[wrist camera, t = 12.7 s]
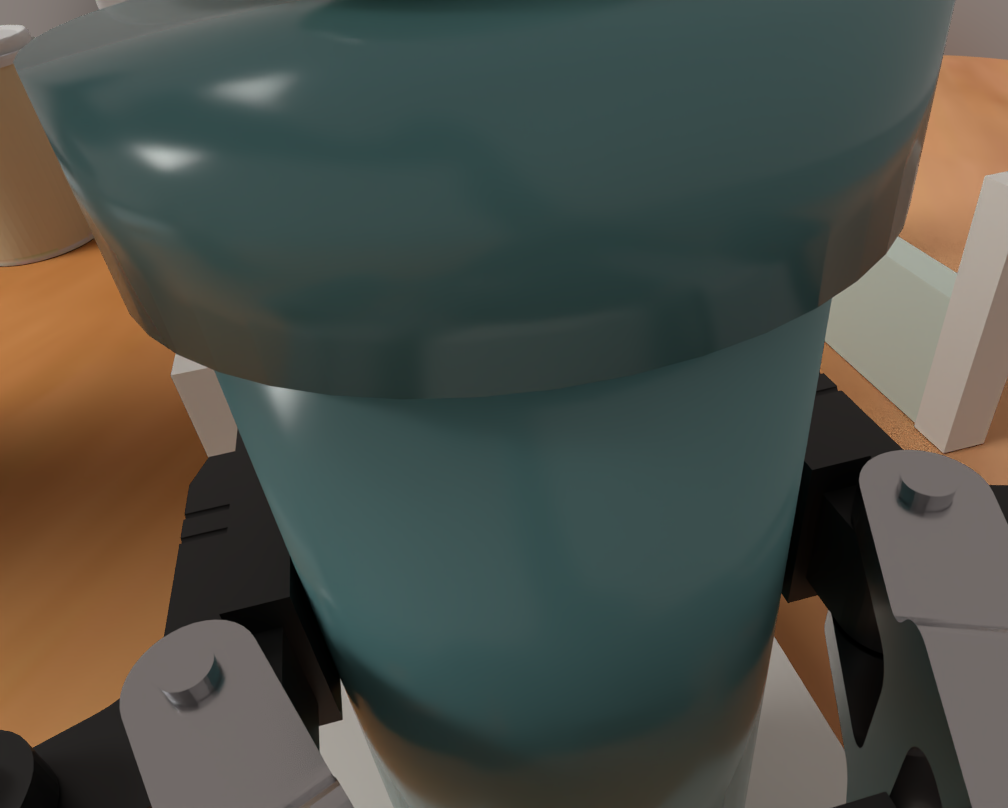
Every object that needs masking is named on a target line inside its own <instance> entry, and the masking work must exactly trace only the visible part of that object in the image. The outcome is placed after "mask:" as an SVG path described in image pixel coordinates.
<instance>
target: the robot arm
mask: <svg viewBox="0 0 1008 808" xmlns="http://www.w3.org/2000/svg"><path fill="white" fill-rule="evenodd" d="M185 517H186V519H185V520H184V521H183V526H182V532H181V541H182V544H179V550H178V556H177V562H176V568H175V574H174V580H173V586H172V592H171V598H170V604H169V610H168V616H167V622H166V628H165V634H164V637H163V638H162V639H160V640H159V641H158V642H157V643H155V644H154V645H153V646H152V647H150V648H149V649H148V650H147V651H146V652H145V653H144V654H143V655H142V656H141V657H140V659H139V660H138V661H137V662H136V664H135V665H134V666H133V668H132V669H131V671H130V672H129V674H128V676H127V678H126V680H125V682H124V685H123V687H122V691H121V695H120V699H118V700H117V701H116V702H114V703H113V704H111V705H110V706H109V707H107V708H105V709H104V710H102V711H100V712H99V713H97V714H95V715H93V716H91V717H90V718H88V719H86V720H84V721H82V722H80V723H78V724H76V725H75V726H73V727H71V728H69V729H67V730H65V731H63V732H61V733H60V734H58V735H56V736H54V737H52V738H50V739H48V740H46V741H45V742H43V743H41V744H39V745H37V746H35V747H33V748H32V747H31V746H30V745H29V744H28V743H27V741H25V740H24V739H23V738H22V737H21V736H20V735H17V734H15V733H13V732H10V731H4V730H0V808H354V807H353V805H352V803H351V801H350V800H349V798H348V796H347V795H346V793H345V791H344V790H343V788H342V786H341V785H340V783H339V781H338V780H337V778H336V777H334V776H333V775H332V773H331V771H330V770H329V768H328V766H327V764H326V763H325V761H324V759H323V757H322V756H321V754H320V745H319V726H322V725H326V724H329V723H333V722H337V721H341V720H343V714H342V696H341V679H340V676H339V674H338V671H337V669H336V667H335V664H334V662H333V659H332V657H331V654H330V652H329V649H328V647H327V645H326V642H325V640H324V637H323V635H322V632H321V630H320V628H319V625H318V623H317V620H316V618H315V615H314V613H313V610H312V608H311V606H310V603H309V601H308V598H307V596H306V593H305V591H304V589H303V586H302V584H301V581H300V579H299V576H298V574H297V571H296V569H295V567H294V564H293V562H292V559H291V557H290V554H289V552H288V550H287V547H286V545H285V542H284V540H283V537H282V535H281V532H280V530H279V528H278V525H277V523H276V520H275V518H274V515H273V513H272V511H271V508H270V506H269V503H268V501H267V498H266V496H265V493H264V491H263V489H262V486H261V484H260V481H259V479H258V476H257V474H256V472H255V469H254V467H253V464H252V462H251V459H250V457H249V455H248V452H247V450H246V447H245V445H244V442H243V440H242V437H241V435H240V433H239V430H238V428H237V438H236V448H235V451H233V452H229V453H224V454H220V455H215V456H211V457H209V458H208V459H207V461H206V462H205V464H204V465H203V466H202V468H201V469H200V471H199V472H198V474H197V475H196V476H195V478H194V479H193V481H192V482H191V484H190V485H189V491H188V497H187V503H186V509H185ZM781 593H782V595H783V596H784V598H785V599H786V601H787V602H788V603H790V602H793V601H797V600H801V599H805V598H808V597H812V596H816V595H818V596H819V597H820V599H821V600H822V601H823V603H824V604H825V606H826V607H827V608H828V612H827V616H826V620H825V626H824V627H825V637H826V643H827V649H828V655H829V661H830V667H831V672H832V678H833V684H834V690H835V696H836V702H837V708H838V714H839V720H840V726H841V732H842V737H843V743H844V749H845V755H846V763H847V795H846V804H842V805H839V806H836V807H832V808H1008V485H988V484H987V482H986V481H985V480H984V479H983V478H982V477H981V476H980V475H979V474H977V473H976V472H975V471H973V470H972V469H970V468H969V467H967V466H966V465H964V464H962V463H960V462H958V461H956V460H954V459H951V458H949V457H946V456H943V455H939V454H936V453H932V452H926V451H919V450H903V449H902V448H901V447H900V446H899V445H898V444H897V443H896V442H895V441H893V440H892V439H891V438H890V437H889V436H888V435H887V434H886V433H885V432H884V431H883V430H882V429H881V428H880V427H879V426H878V425H877V424H876V423H875V422H874V421H873V420H872V419H871V418H870V417H869V416H867V415H866V414H865V413H864V412H863V411H862V410H861V409H860V408H859V407H858V406H857V405H856V404H855V403H854V402H853V401H852V400H851V399H850V398H849V397H848V396H847V395H846V394H845V393H844V392H843V391H838V390H837V386H836V385H835V384H834V383H833V382H832V381H831V380H830V379H829V378H828V377H827V376H826V375H825V374H824V373H823V374H820V371H819V377H818V383H817V389H816V394H815V400H814V406H813V412H812V418H811V423H810V429H809V435H808V441H807V447H806V453H805V458H804V464H803V470H802V476H801V482H800V488H799V493H798V499H797V505H796V511H795V517H794V523H793V528H792V534H791V540H790V546H789V552H788V557H787V563H786V569H785V575H784V581H783V587H782V592H781Z"/></svg>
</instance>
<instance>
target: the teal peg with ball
mask: <svg viewBox="0 0 1008 808" xmlns="http://www.w3.org/2000/svg"><path fill="white" fill-rule="evenodd" d="M954 5H955V0H127V1H124V2H121V3H118V4H115V5H112V6H109V7H105V8H102V9H100V10H97V11H94V12H92V13H89V14H86V15H84V16H81V17H78V18H75V19H73V20H71V21H68V22H66V23H64V24H62V25H59V26H57V27H55V28H53V29H50V30H49V31H47V32H45V33H43V34H42V35H40V36H38V37H36V38H34V39H33V40H31V41H30V42H29V43H28V44H26V45H25V46H24V47H23V48H22V49H20V50H19V51H18V53H17V55H16V57H15V59H14V61H13V64H14V66H15V69H16V71H17V73H18V76H19V78H20V80H21V82H22V84H23V86H24V88H25V91H26V93H27V95H28V97H29V99H30V101H31V103H32V106H33V108H34V110H35V112H36V114H37V116H38V118H39V121H40V123H41V125H42V127H43V129H44V131H45V133H46V136H47V138H48V140H49V142H50V144H51V146H52V148H53V151H54V153H55V155H56V157H57V159H58V161H59V163H60V166H61V168H62V170H63V172H64V174H65V176H66V178H67V181H68V183H69V185H70V187H71V189H72V191H73V194H74V196H75V198H76V200H77V202H78V204H79V206H80V209H81V211H82V213H83V215H84V217H85V219H86V221H87V224H88V226H89V228H90V230H91V232H92V234H93V236H94V239H95V241H96V243H97V245H98V247H99V249H100V251H101V254H102V256H103V258H104V260H105V262H106V264H107V266H108V269H109V271H110V273H111V275H112V277H113V279H114V281H115V284H116V286H117V288H118V290H119V292H120V294H121V296H122V299H123V301H124V303H125V305H126V307H127V309H128V312H129V314H130V315H131V316H132V317H133V318H134V320H135V321H136V322H137V323H138V324H139V325H140V326H141V327H142V328H143V330H144V331H145V332H146V333H147V334H148V335H149V336H150V337H152V338H153V339H155V340H156V341H158V342H159V343H161V344H162V345H164V346H165V347H167V348H168V349H170V350H171V351H173V352H174V353H176V354H177V355H179V356H182V357H184V358H186V359H189V360H191V361H194V362H196V363H198V364H201V365H203V366H205V367H208V368H210V369H212V370H214V372H215V374H216V377H217V379H218V381H219V384H220V386H221V389H222V391H223V394H224V396H225V398H226V401H227V403H228V406H229V408H230V411H231V413H232V416H233V418H234V420H235V423H236V425H237V428H238V430H239V433H240V435H241V437H242V440H243V442H244V445H245V447H246V450H247V452H248V455H249V457H250V459H251V462H252V464H253V467H254V469H255V472H256V474H257V476H258V479H259V481H260V484H261V486H262V489H263V491H264V493H265V496H266V498H267V501H268V503H269V506H270V508H271V511H272V513H273V515H274V518H275V520H276V523H277V525H278V528H279V530H280V532H281V535H282V537H283V540H284V542H285V545H286V547H287V550H288V552H289V554H290V557H291V559H292V562H293V564H294V567H295V569H296V571H297V574H298V576H299V579H300V581H301V584H302V586H303V589H304V591H305V593H306V596H307V598H308V601H309V603H310V606H311V608H312V610H313V613H314V615H315V618H316V620H317V623H318V625H319V628H320V630H321V632H322V635H323V637H324V640H325V642H326V645H327V647H328V649H329V652H330V654H331V657H332V659H333V662H334V664H335V667H336V669H337V671H338V674H339V676H340V679H341V681H342V684H343V686H344V688H345V691H346V693H347V696H348V698H349V701H350V703H351V706H352V708H353V710H354V713H355V715H356V718H357V720H358V723H359V725H360V727H361V730H362V732H363V735H364V737H365V740H366V742H367V745H368V747H369V749H370V752H371V754H372V757H373V759H374V762H375V764H376V766H377V769H378V771H379V774H380V776H381V779H382V781H383V784H384V786H385V788H386V791H387V793H388V796H389V798H390V801H391V803H392V805H393V808H745V802H746V796H747V790H748V785H749V779H750V773H751V767H752V761H753V756H754V750H755V744H756V738H757V732H758V726H759V721H760V715H761V709H762V703H763V697H764V691H765V686H766V680H767V674H768V668H769V662H770V656H771V651H772V645H773V639H774V633H775V627H776V622H777V616H778V610H779V604H780V598H781V592H782V587H783V581H784V575H785V569H786V563H787V557H788V552H789V546H790V540H791V534H792V528H793V523H794V517H795V511H796V505H797V499H798V493H799V488H800V482H801V476H802V470H803V464H804V458H805V453H806V447H807V441H808V435H809V429H810V423H811V418H812V412H813V406H814V400H815V394H816V389H817V383H818V377H819V371H820V365H821V359H822V354H823V348H824V342H825V336H826V330H827V324H828V319H829V313H830V307H831V301H832V298H833V297H834V296H836V295H837V294H839V293H840V292H842V291H843V290H845V289H846V288H848V287H849V286H851V285H852V284H854V283H855V282H857V281H858V280H859V279H860V278H861V277H862V276H863V275H865V274H866V273H867V272H868V271H869V270H870V269H871V268H872V267H873V266H874V265H875V264H876V263H877V262H878V261H879V260H880V259H881V258H882V257H884V256H885V255H886V253H887V252H888V250H889V249H890V247H891V246H892V244H893V243H894V241H895V240H896V238H897V237H898V235H899V234H900V232H901V231H902V229H903V227H904V224H905V220H906V217H907V213H908V210H909V206H910V202H911V198H912V193H913V189H914V184H915V180H916V175H917V171H918V166H919V162H920V157H921V153H922V148H923V144H924V139H925V135H926V130H927V126H928V121H929V117H930V112H931V108H932V103H933V99H934V95H935V90H936V86H937V81H938V77H939V72H940V68H941V63H942V59H943V54H944V50H945V45H946V41H947V36H948V32H949V27H950V23H951V18H952V14H953V9H954Z"/></svg>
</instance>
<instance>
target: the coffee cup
mask: <svg viewBox="0 0 1008 808" xmlns="http://www.w3.org/2000/svg"><path fill="white" fill-rule="evenodd" d="M34 38H35V37H31V35H30V32H29V30H28V29H27V28H26V27H25V26H21V25H0V266H16V265H24V264H29V263H34V262H38V261H42V260H46V259H49V258H52V257H55V256H58V255H61V254H64V253H66V252H69V251H71V250H73V249H76V248H78V247H80V246H82V245H84V244H85V243H87V242H89V241H90V240H92V239H93V238H94V236H93V234H92V232H91V230H90V228H89V226H88V224H87V221H86V219H85V217H84V215H83V213H82V211H81V209H80V206H79V204H78V202H77V200H76V198H75V196H74V194H73V191H72V189H71V187H70V185H69V183H68V181H67V178H66V176H65V174H64V172H63V170H62V168H61V166H60V163H59V161H58V159H57V157H56V155H55V153H54V151H53V148H52V146H51V144H50V142H49V140H48V138H47V136H46V133H45V131H44V129H43V127H42V125H41V123H40V121H39V118H38V116H37V114H36V112H35V110H34V108H33V106H32V103H31V101H30V99H29V97H28V95H27V93H26V91H25V88H24V86H23V84H22V82H21V80H20V78H19V76H18V73H17V71H16V69H15V66H14V64H13V61H14V59H15V57H16V55H17V53H18V51H19V50H20V49H22V48H23V47H24V46H25V45H26V44H28V43H29V42H30V41H31V40H33V39H34Z"/></svg>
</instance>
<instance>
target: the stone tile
mask: <svg viewBox="0 0 1008 808" xmlns="http://www.w3.org/2000/svg"><path fill="white" fill-rule="evenodd" d="M341 696H342V714H343V720H341V721H337V722H333V723H329V724H326V725H322V726H319V745H320V754H321V756H322V757H323V759H324V761H325V763H326V764H327V766H328V768H329V770H330V771H331V773H332V775H333V776H334V777H336V778H337V780H338V781H339V783H340V785H341V786H342V788H343V790H344V791H345V793H346V795H347V796H348V798H349V800H350V801H351V803H352V805H353V807H354V808H393V805H392V803H391V801H390V798H389V796H388V793H387V791H386V788H385V786H384V784H383V781H382V779H381V776H380V774H379V771H378V769H377V766H376V764H375V762H374V759H373V757H372V754H371V752H370V749H369V747H368V745H367V742H366V740H365V737H364V735H363V732H362V730H361V727H360V725H359V723H358V720H357V718H356V715H355V713H354V710H353V708H352V706H351V703H350V701H349V698H348V696H347V693H346V691H345V688H344V686H343V684H342V681H341ZM846 795H847V763H846V755H845V750H844V749H843V747H842V745H841V744H840V742H839V740H838V739H837V737H836V736H835V734H834V732H833V731H832V729H831V728H830V726H829V724H828V723H827V721H826V719H825V718H824V716H823V715H822V713H821V711H820V710H819V708H818V707H817V705H816V703H815V702H814V700H813V698H812V697H811V695H810V694H809V692H808V690H807V689H806V687H805V686H804V684H803V682H802V681H801V679H800V677H799V676H798V674H797V673H796V671H795V669H794V668H793V666H792V665H791V663H790V661H789V660H788V658H787V656H786V655H785V653H784V652H783V650H782V648H781V647H780V645H779V644H778V642H777V640H776V639H775V637H774V639H773V645H772V651H771V656H770V662H769V668H768V674H767V680H766V686H765V691H764V697H763V703H762V709H761V715H760V721H759V726H758V732H757V738H756V744H755V750H754V756H753V761H752V767H751V773H750V779H749V785H748V790H747V796H746V802H745V808H832V807H836V806H839V805H842V804H846Z"/></svg>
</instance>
